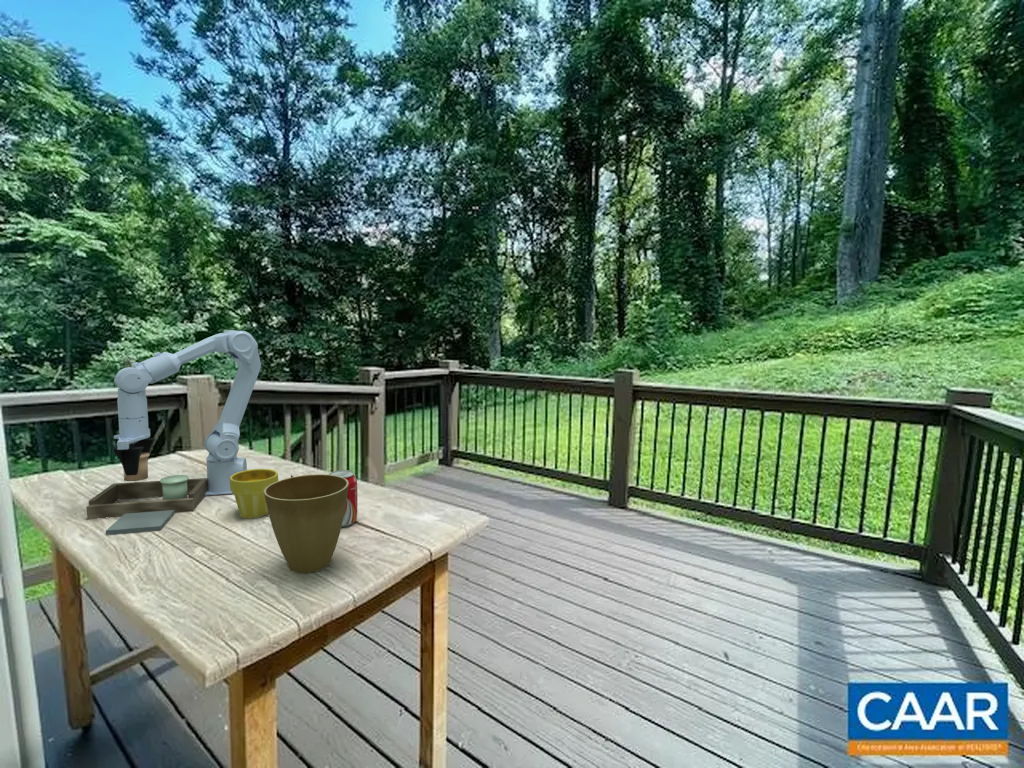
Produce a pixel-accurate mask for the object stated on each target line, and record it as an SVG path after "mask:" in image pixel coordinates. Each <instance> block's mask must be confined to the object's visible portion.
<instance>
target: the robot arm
mask: <svg viewBox="0 0 1024 768" xmlns="http://www.w3.org/2000/svg"><path fill="white" fill-rule="evenodd" d="M258 345H259V344H258V342H257V341H256V339H255V338H254V336H253V335H252V334H251V333H250V332H247V331H245V330H236V329H229V330H225V331H224V332H220V333H216V334H214V335H212V336H209V337H206V338H204V339H202V340H199V341H198V342H195V343H193V344H192V345H189V346H188V347H187V346H186V347H185V348H184V349H181V350H178V351H177V352H175V353H171V352H167V351H164V352H160V351H157V352H154V353H153V354H152V355H153V356H152V357H149V358H147V359H144V360H142V361H141V362H137V361H136V362H133V363H132V365H133V367H129V366H128V367H124V368H121V369H120V370H118V371H117V372H116V374H115V377H114V379H113V381H114V384H115V386H117V387H118V388H117V397H118V398H117V400H116V401H117V402H116V403H117V413H118V415H117V416H118V431H119V432H118V433H119V434H115V435H113V439H114V440H117V442H116V445H117V446H115V447H113V448H112V450H113V453H114V454H115V455H116V457H118V459H119V461H120V464H121V465H122V468H123V472H124V471H125V474H126V475H137V473H138V468H139V459H140V455H141V452H147V453H149V454H150V453H151V449H152V447H153V445H154V443H155V442H156V438H154V437H151V428H149V414H148V412H149V411H148V398H147V395H146V389H147V388H148V386H149V384H151V385H152V384H155V383H157V382H160V381H162V380H164V379H166V378H169V377H170V376H172V375H175V374H178V373H179V371H180V368H181V367H182V365H184V364H186V363H188V362H189V363H190V362H192V361H194V360H197V359H198V358H201V357H203V356H206V355H209V354H210V353H215V352H216V353H217V352H218V353H227V354H229V356H231V357H232V359H233V360H234V362H235V363H236V364H237V366H238V369H237V372H236V373H235V377H234V379H233V383H232V385H231V386H230V387H231V388H230V390H229V394H228V395H227V399H226V401H225V404H224V407H223V409H222V412H221V415H220V417H219V421H218V422H217V423H216V424H215V425H214V426H213V429H212V431H211V433H209V435H207V436H206V438H204V439H205V440H204V443H203V444H204V449H205V450H206V451H207V452H208V455H207V456H206V478H207V482H208V491H207V492H206V493H205V495H206V496H216V495H217V496H218V495H232V494H233V495H234V493H232V492H231V490H230V477H231V476H232V475H233V474H235V473H237V472H241V471H245V470H248V467H247V466H248V463H247V458H246V457H238V456H237V455H238V453H239V450H240V445H239V440H240V437H241V436H240V435H241V431H240V425H241V423H242V422H243V421H242V420H243V418H244V415H245V412H246V409H247V406H248V403H249V401H250V399H251V396H252V393H253V390H254V387H255V384H256V382H257V379H258V376H259V373H260V371H261V368H262V362H261V358H260V354H259V351H258V350H259V349H258V348H259V346H258ZM149 457H150V456H149ZM149 457H148V459H150V458H149Z"/></svg>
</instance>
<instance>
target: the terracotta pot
mask: <svg viewBox="0 0 1024 768" xmlns="http://www.w3.org/2000/svg"><path fill="white" fill-rule="evenodd" d="M150 455H151V454H150V453H147V452H141V455H140V459H139V468H138V473H137V475H126V474H125V471H124V470H123V481H124V482H141V481H144V480H147V479H148V478H149V458H148V457H150Z"/></svg>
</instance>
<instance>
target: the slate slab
mask: <svg viewBox="0 0 1024 768" xmlns="http://www.w3.org/2000/svg"><path fill="white" fill-rule="evenodd" d="M174 515H176V513H175V510H167V511H154V512H140V513H127V514H124V515H123V516H122V517H118V519H117V520H116V521H115V522H113V523H112V524H111V525H110V526H109V527H108V528H107V529H106V530H105V535H106V536H108V535H107V534H113V535H122V534H135V533H146V532H156V531H157V532H158V531H159V532H160V531H161V530H162V529H163V528H164V527H165V526H166V525H167V523H169V522H170V520H171V519H172V518H173V516H174ZM174 517H175V516H174Z"/></svg>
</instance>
